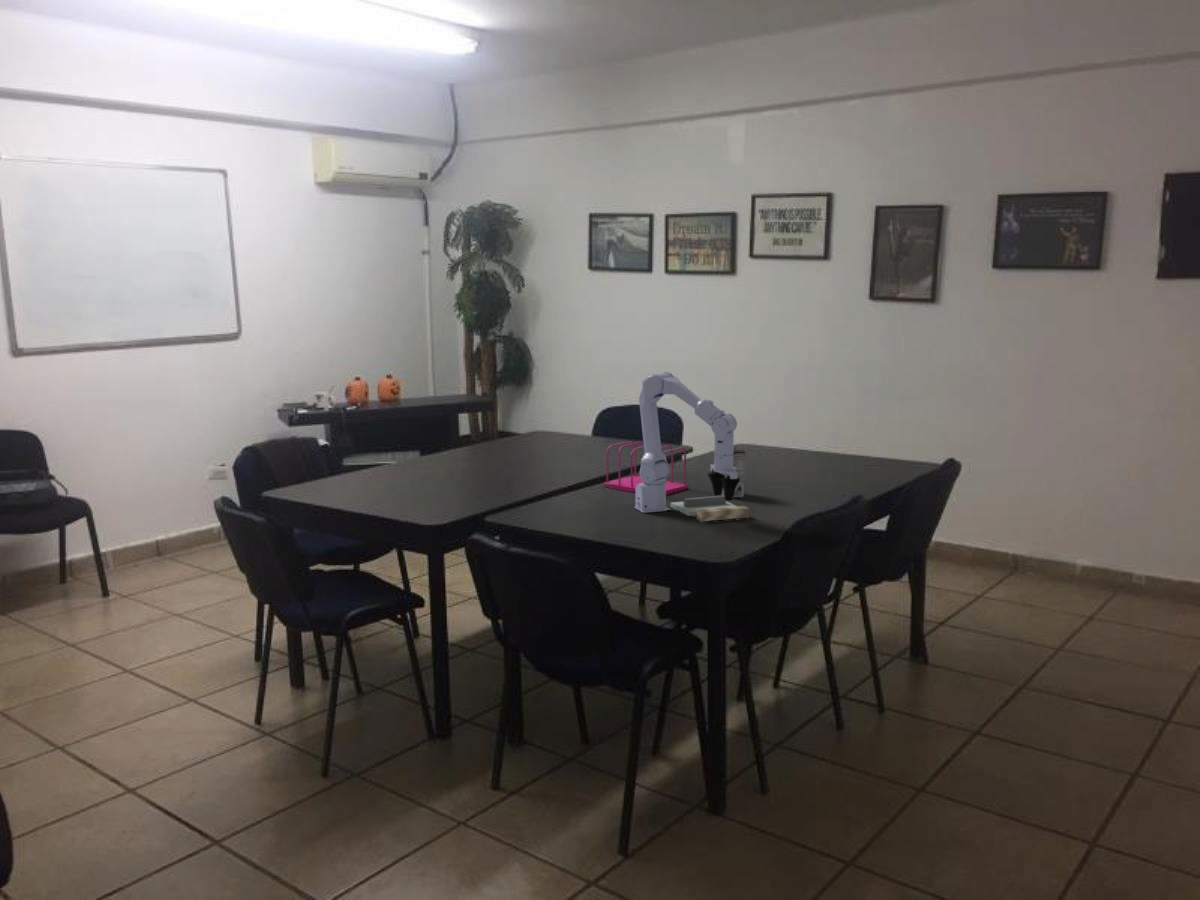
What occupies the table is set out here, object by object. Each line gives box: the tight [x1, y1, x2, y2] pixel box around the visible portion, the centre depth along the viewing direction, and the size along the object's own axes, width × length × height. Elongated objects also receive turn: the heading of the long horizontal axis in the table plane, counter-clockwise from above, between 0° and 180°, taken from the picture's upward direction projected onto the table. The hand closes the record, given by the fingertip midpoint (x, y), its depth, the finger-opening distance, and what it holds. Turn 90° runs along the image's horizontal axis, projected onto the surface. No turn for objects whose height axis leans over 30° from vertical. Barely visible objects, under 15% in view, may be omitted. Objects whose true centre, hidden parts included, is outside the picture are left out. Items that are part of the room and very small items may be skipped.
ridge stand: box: [669, 495, 737, 516], centre depth 310 cm, size 18×14×4 cm
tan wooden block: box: [696, 505, 750, 521], centre depth 298 cm, size 16×4×4 cm, turn 108°
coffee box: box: [721, 446, 746, 498], centre depth 329 cm, size 9×6×16 cm
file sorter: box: [603, 441, 690, 496], centre depth 341 cm, size 17×25×16 cm
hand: (723, 497), depth 297 cm, fingers open, 7 cm apart
